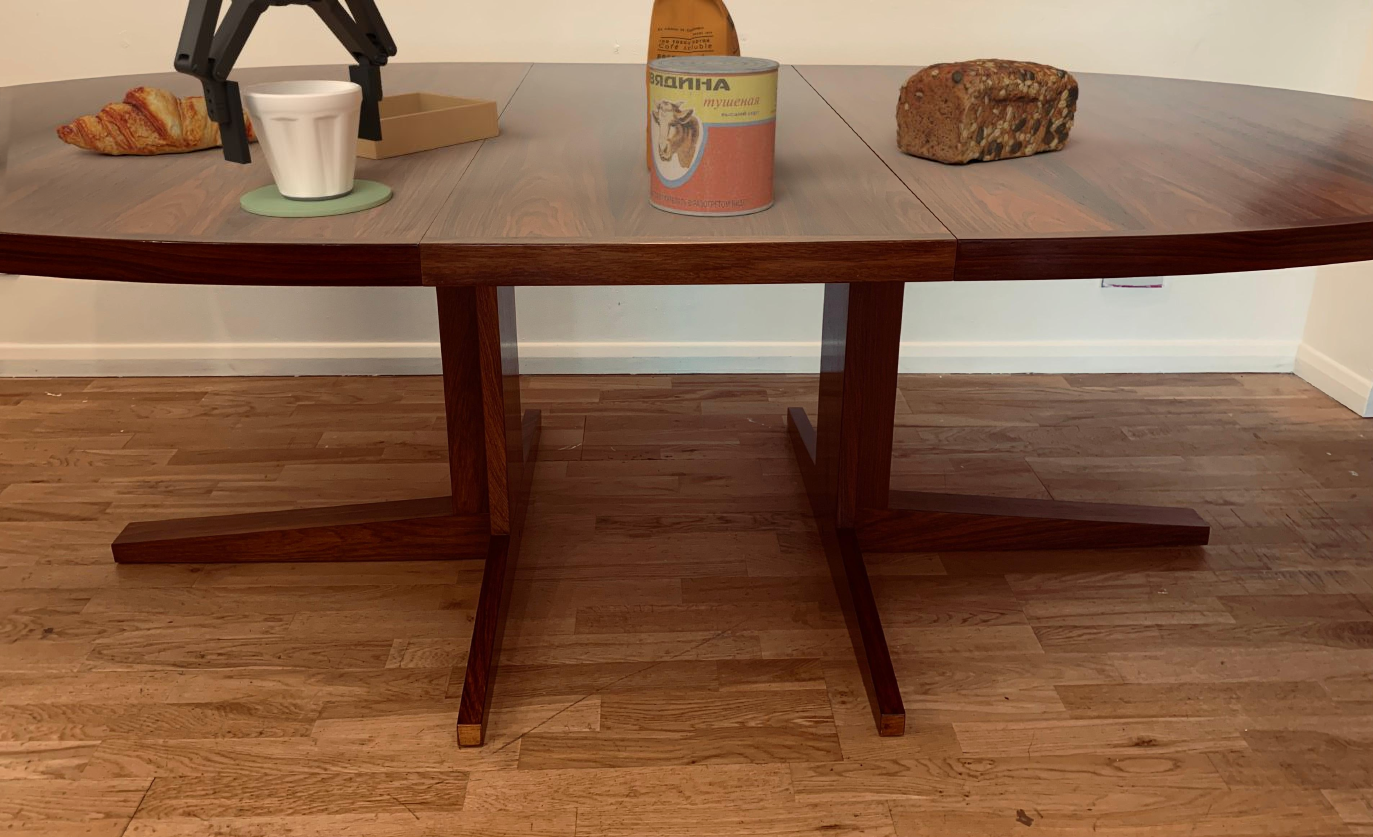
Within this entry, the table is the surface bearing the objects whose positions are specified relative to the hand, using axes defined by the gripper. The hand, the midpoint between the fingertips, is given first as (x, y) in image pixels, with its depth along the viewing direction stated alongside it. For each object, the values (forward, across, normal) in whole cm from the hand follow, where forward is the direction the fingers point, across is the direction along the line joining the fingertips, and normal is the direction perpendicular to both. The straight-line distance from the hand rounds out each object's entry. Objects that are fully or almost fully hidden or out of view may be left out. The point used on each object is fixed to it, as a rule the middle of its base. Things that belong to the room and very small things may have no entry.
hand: (307, 150), depth 90 cm
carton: (+4, +24, +17) cm, 30 cm away
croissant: (+5, +5, +33) cm, 34 cm away
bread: (+4, +59, -40) cm, 72 cm away
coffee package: (+4, +34, -18) cm, 39 cm away
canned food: (+4, +21, -29) cm, 36 cm away
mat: (+4, 0, 0) cm, 4 cm away
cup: (+4, 0, 0) cm, 4 cm away
